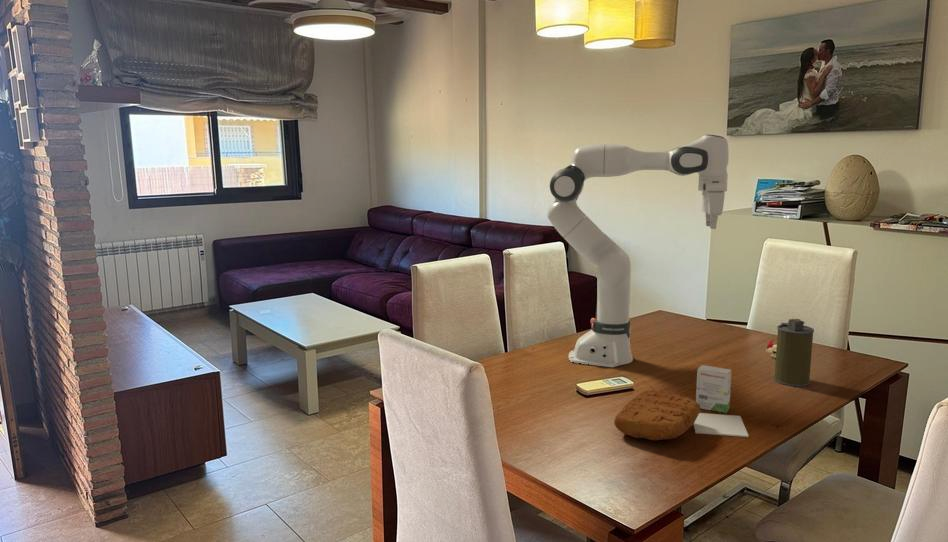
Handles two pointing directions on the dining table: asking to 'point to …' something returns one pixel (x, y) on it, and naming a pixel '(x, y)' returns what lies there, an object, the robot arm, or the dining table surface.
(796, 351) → the canister
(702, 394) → the ink box
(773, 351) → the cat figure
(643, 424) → the cuneiform tablet
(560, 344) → the dining table surface
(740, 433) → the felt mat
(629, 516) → the dining table surface
